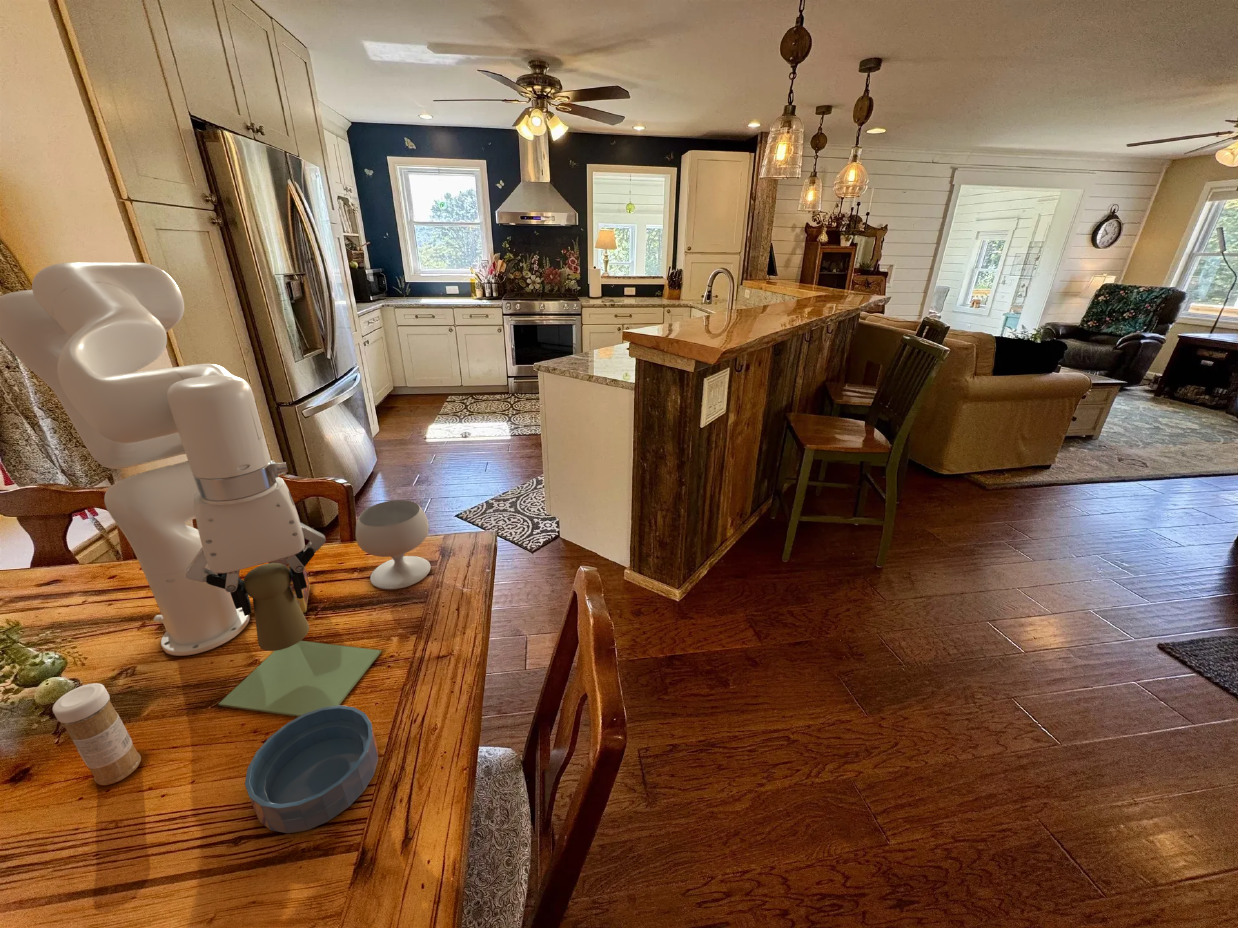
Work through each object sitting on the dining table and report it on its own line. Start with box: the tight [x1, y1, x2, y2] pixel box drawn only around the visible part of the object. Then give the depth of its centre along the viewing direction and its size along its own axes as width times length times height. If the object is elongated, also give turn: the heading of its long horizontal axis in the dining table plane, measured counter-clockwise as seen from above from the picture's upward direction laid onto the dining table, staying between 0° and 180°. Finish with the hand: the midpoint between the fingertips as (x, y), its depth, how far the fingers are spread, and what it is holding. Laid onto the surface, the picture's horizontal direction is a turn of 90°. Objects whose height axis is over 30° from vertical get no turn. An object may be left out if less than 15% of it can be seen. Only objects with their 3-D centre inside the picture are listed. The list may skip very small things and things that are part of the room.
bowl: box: [244, 704, 379, 834], centre depth 64 cm, size 14×14×5 cm
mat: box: [218, 640, 382, 718], centre depth 80 cm, size 18×14×1 cm
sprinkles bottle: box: [51, 682, 142, 786], centre depth 63 cm, size 5×5×13 cm
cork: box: [243, 562, 310, 652], centre depth 67 cm, size 6×6×11 cm
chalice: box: [355, 499, 432, 590], centre depth 104 cm, size 14×14×15 cm
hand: (273, 600), depth 66 cm, fingers closed on cork, 5 cm apart
